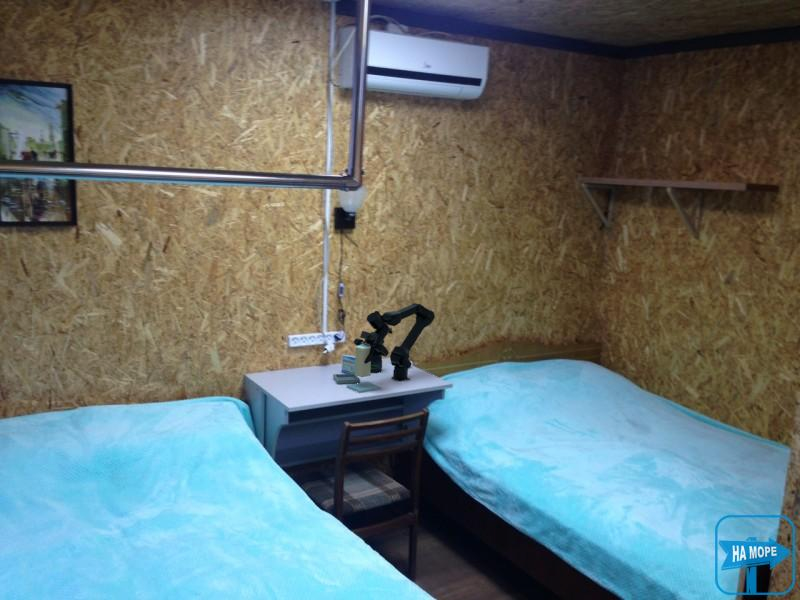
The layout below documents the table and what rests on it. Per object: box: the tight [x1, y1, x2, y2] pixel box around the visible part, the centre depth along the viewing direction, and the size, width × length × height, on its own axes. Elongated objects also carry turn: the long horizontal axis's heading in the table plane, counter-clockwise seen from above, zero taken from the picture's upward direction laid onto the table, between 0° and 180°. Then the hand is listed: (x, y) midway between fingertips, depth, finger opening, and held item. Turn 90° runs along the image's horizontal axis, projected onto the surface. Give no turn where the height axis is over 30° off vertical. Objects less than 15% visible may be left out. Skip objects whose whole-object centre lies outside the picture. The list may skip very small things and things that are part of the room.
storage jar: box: [363, 340, 384, 374], centre depth 343 cm, size 10×10×15 cm
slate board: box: [346, 381, 382, 394], centre depth 313 cm, size 12×10×1 cm
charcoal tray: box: [332, 373, 361, 385], centre depth 323 cm, size 11×11×2 cm
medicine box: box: [341, 354, 355, 374], centre depth 337 cm, size 8×4×9 cm, turn 62°
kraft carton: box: [354, 345, 371, 378], centre depth 311 cm, size 5×5×14 cm
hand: (360, 361), depth 310 cm, fingers closed on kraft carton, 5 cm apart
